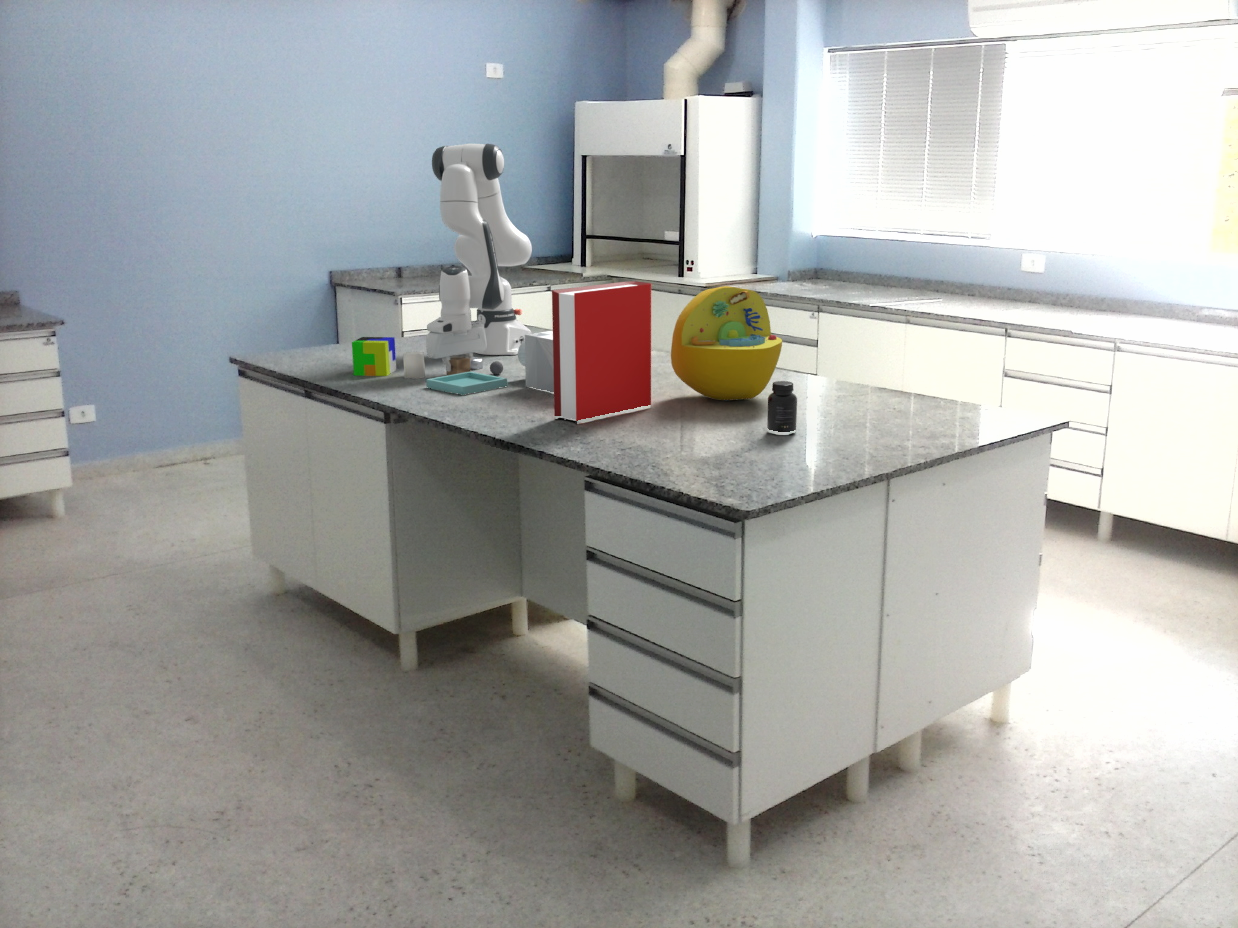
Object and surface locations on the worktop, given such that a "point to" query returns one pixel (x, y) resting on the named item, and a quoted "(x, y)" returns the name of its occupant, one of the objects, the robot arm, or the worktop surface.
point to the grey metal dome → (476, 363)
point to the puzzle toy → (374, 356)
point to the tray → (466, 382)
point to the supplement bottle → (782, 407)
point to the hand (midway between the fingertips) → (458, 369)
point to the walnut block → (459, 365)
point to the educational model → (725, 344)
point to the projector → (538, 360)
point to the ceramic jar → (414, 364)
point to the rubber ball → (496, 368)
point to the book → (601, 349)
